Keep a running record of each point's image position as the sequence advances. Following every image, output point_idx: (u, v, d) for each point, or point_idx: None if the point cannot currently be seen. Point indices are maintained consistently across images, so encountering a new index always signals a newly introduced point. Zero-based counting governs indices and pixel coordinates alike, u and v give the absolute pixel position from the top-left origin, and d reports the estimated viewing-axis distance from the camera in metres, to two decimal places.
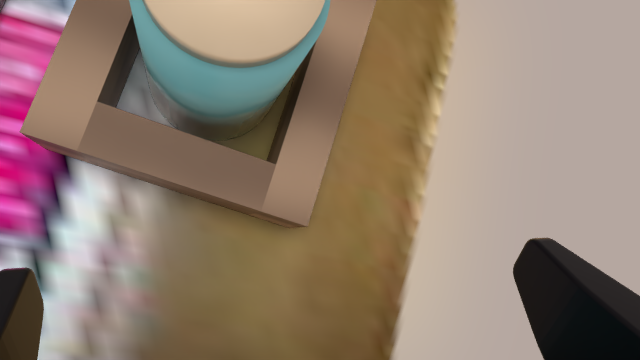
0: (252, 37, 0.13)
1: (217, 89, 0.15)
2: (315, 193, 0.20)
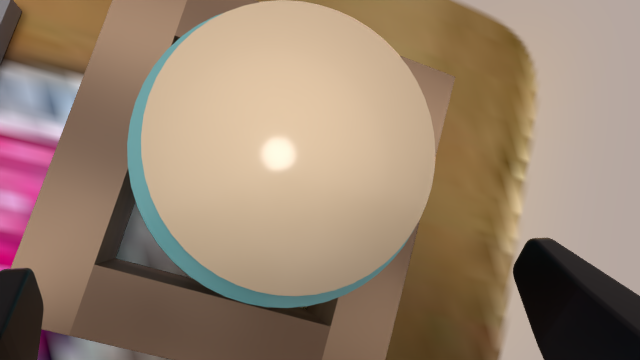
0: (327, 258, 0.08)
1: None
2: None
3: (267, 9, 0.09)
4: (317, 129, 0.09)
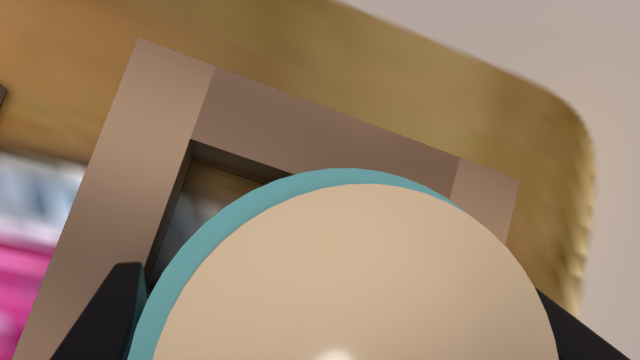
0: None
1: None
2: None
3: (328, 199, 0.06)
4: None
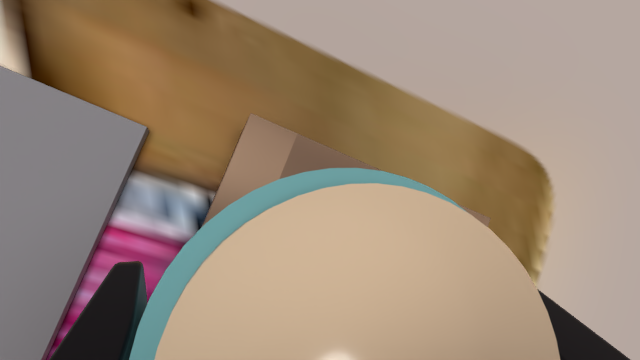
0: None
1: None
2: None
3: (330, 198, 0.06)
4: None
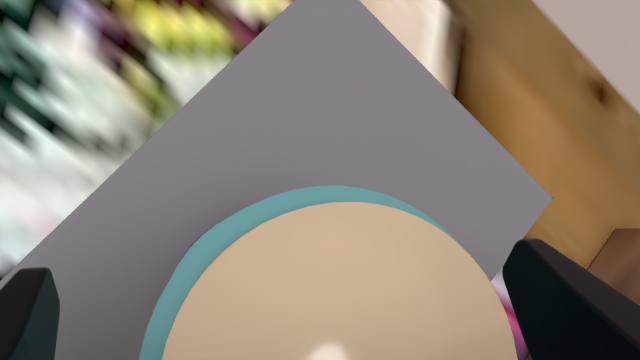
0: None
1: None
2: None
3: (315, 215, 0.07)
4: None
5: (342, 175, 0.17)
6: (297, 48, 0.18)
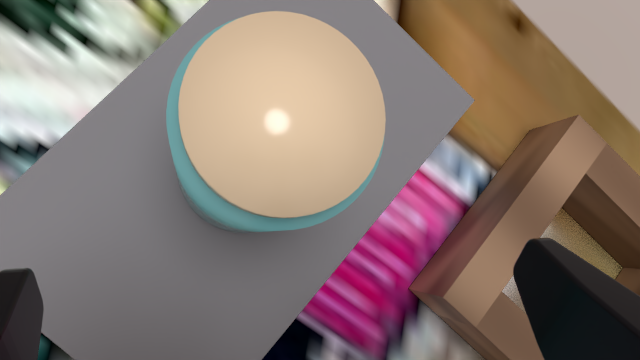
0: (307, 192, 0.12)
1: (264, 230, 0.14)
2: None
3: (265, 17, 0.12)
4: (300, 102, 0.12)
5: None
6: None
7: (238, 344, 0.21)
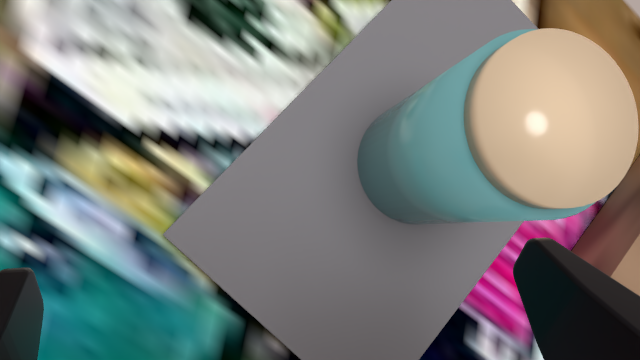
0: (579, 187, 0.14)
1: (511, 220, 0.15)
2: None
3: (542, 33, 0.14)
4: (571, 108, 0.14)
5: None
6: None
7: (412, 327, 0.23)
